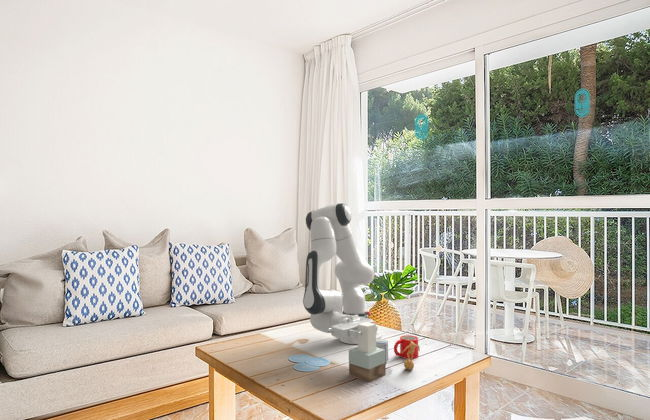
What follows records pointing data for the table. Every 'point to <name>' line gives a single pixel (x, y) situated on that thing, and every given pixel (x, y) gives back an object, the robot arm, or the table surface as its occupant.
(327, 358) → the table surface
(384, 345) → the medicine box
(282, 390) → the table surface
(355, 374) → the tower bottom
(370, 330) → the tall block
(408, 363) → the figurine
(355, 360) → the tower top
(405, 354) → the mug
